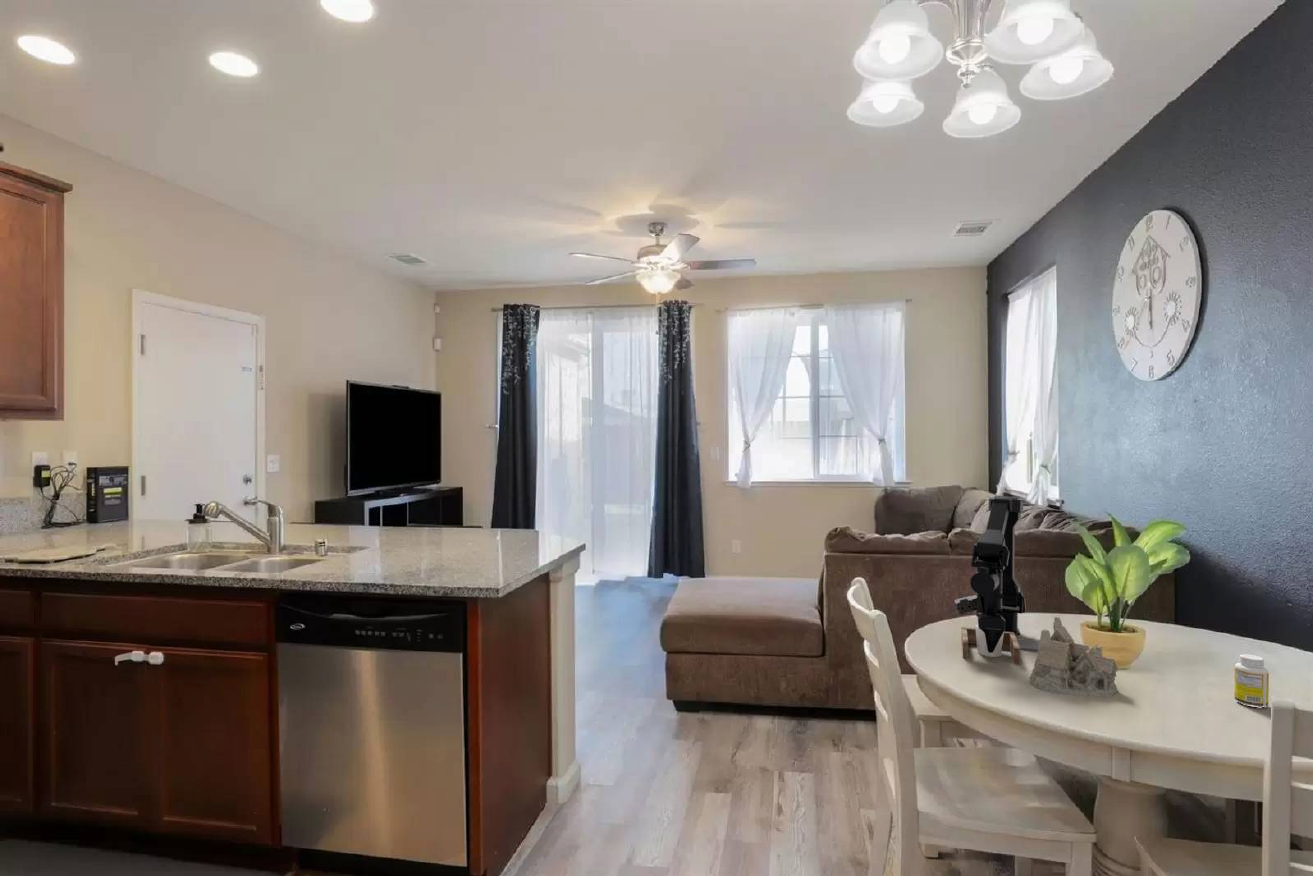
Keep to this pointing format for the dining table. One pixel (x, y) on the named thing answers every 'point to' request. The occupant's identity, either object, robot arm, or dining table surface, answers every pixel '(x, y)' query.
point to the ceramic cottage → (1071, 666)
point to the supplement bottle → (1251, 681)
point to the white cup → (983, 645)
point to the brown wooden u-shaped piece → (1008, 642)
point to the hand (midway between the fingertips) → (989, 647)
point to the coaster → (1028, 644)
